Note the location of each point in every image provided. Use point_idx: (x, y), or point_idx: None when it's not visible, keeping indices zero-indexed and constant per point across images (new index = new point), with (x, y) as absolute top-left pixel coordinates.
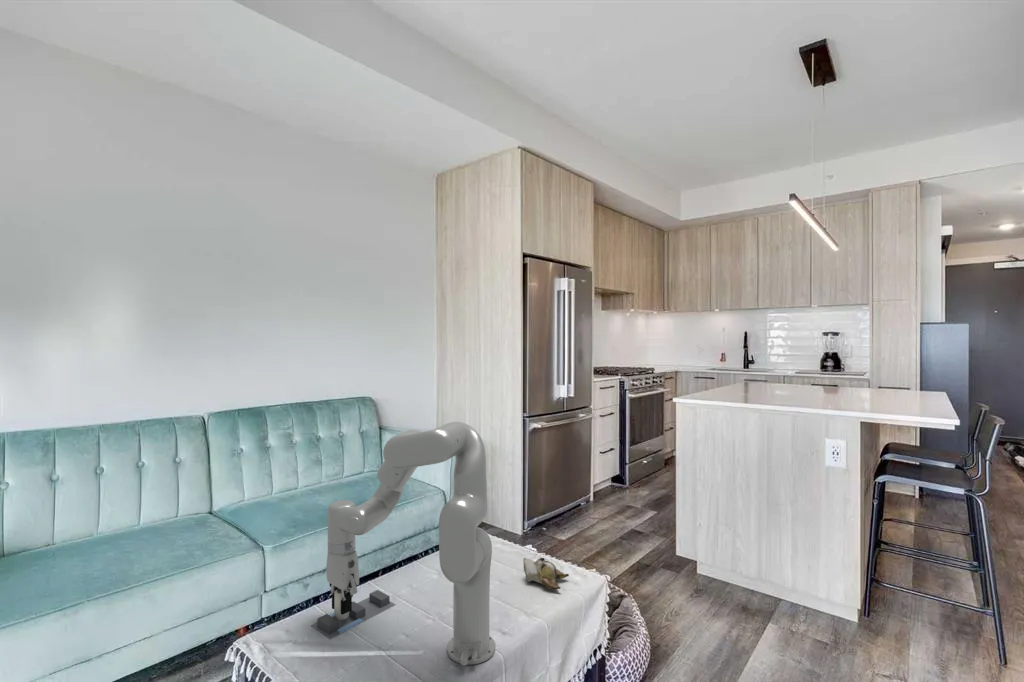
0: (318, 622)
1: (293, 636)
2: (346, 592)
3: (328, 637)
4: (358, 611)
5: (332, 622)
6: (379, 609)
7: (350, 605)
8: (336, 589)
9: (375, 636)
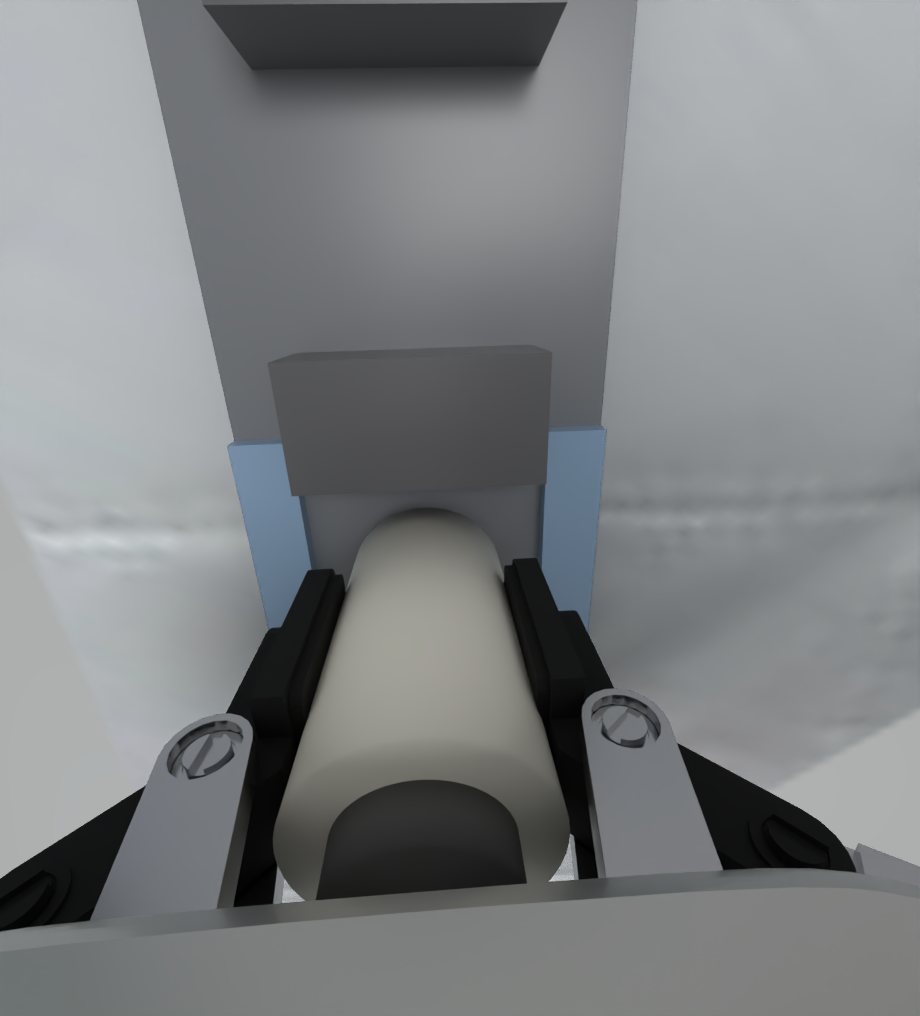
0: None
1: None
2: (550, 817)
3: None
4: (544, 454)
5: None
6: (551, 118)
7: (588, 635)
8: (247, 847)
9: (801, 427)
